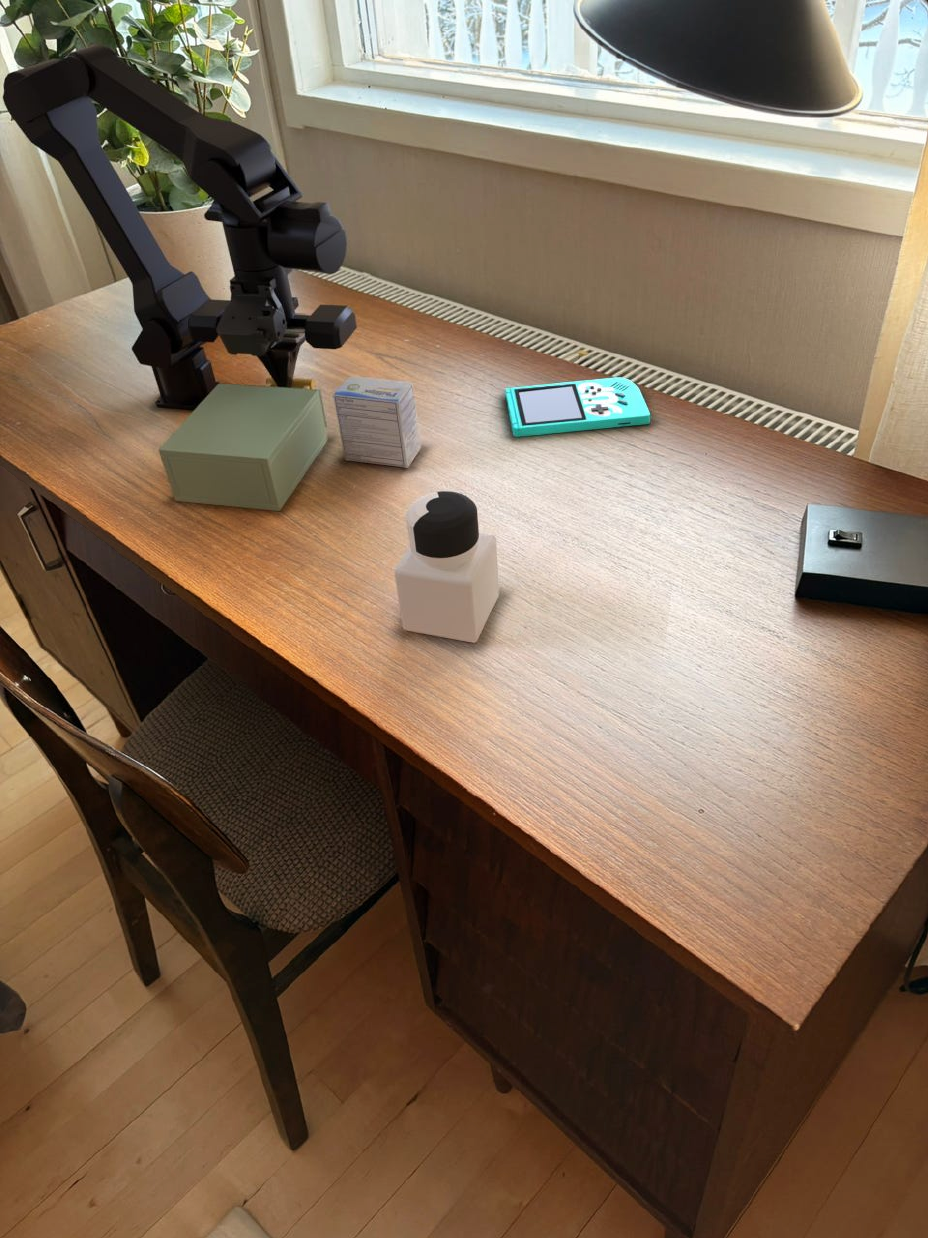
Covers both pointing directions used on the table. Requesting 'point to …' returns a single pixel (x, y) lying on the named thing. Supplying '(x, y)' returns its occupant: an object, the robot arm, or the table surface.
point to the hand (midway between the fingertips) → (286, 390)
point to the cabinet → (245, 446)
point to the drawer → (297, 384)
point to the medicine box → (377, 421)
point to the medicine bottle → (447, 569)
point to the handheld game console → (575, 406)
